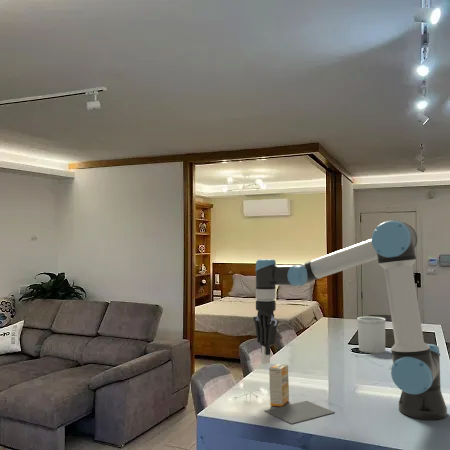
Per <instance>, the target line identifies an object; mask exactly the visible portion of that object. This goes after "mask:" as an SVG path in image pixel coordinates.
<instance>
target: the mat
mask: <svg viewBox="0 0 450 450" xmlns="http://www.w3.org/2000/svg"><path fill="white" fill-rule="evenodd" d="M264 412H266V413H267V414H269V415H271V416H274V417H275V418H278V419H279V420H282V421H283V422H286V423H288V424H289V425H294V424H298V423H302V422H306V421H310V420H313V419H318V418H321V417H324V416H329V415H333V414H335V411H333V410H331V409H328V408H326V407H324V406H321V405H318V404H316V403H314V402H311V401H308V400H304V401H300V402H299V401H298V402H296V403H295V402H294V403H291V404H285V405H283V406H277V407H274V408H269V409H265V410H264Z"/></svg>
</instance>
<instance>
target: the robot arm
mask: <svg viewBox="0 0 450 450" xmlns="http://www.w3.org/2000/svg"><path fill="white" fill-rule="evenodd" d="M371 234H372V235H371V238H369V239H367V240H365V241H361V242H359V243H356V244H353V245H351V246H348V247H345V248H342V249H339V250H335V251H334V252H331V253H329V254H325V255H322V256H320V257H317V258H314V259H312V260H309V261H306V262H303V263H299V264H298V263H297V264H277V263H276V259H273V258H269V259H268V258H265V259H263V258H262V259H257V260H256V261H255V269H254V270H255V271H254V272H255V299H256V300H255V310H256V311H257V315H256V316H253V321H254V326H255V327H254V328H255V334H256V340H257V343H258V344H260V346H261V347H260V349H261V351H260V354H261V364H263V365H266V364H271V360H270V359H271V347H272V346H274V345H275V343H276V342H275V341H276V338H277V337H276V335H277V329H278V325H279V323H280V321H279V320H278V319H277V320H276V318H275V314H274V312H275V311H276V310H277V309H276V308H277V307H276V305H277V304H276V303H277V301H275V300H276V285H277V286H278V285H279V286H293V287H301V286H302V287H303V286H305V284H309V283H312V282H313V281H316V280H318V279H321V278H324V277H327V276H330V275H331V276H332V275H333V274H337V273H339V272H342V271H345V270H348V269H351V268H354V267H358V266H360V265H364V264H366V263H369V262H370V263H371V262H373V261H376V260H377V262H378V265H379V266H380V267H382V268H383V270H384V277H385V282H386V283H385V284H386V291H387V297H388V303H389V311H390V316H391V324H392V331H393V336H394V344H393V345H392V347H390V352H391V358H392V365H391V368H390V369H391V370H390V374H391V379H392V381H393V383H394V385H395V386H396V387H397V388H398V389H399V390H401V394H400V397H399V401H398V411H399V412H400V413H402V414H403V415H405V416H408V417H411V418H415V419H421V420H429V421H431V420H433V421H435V420H442V419H445V418H447V416H448V407H447V405H446V402H445V399H444V396H443V393H442V389H441V364H440V363H441V362H440V361H441V360H440V357H441V352H440V347H439V346H438V345H436V344H432V343H426V342H425V341H424V340H425V339H424V335H423V328H422V327H423V326H422V322H421V321H422V320H421V313H420V308H419V302H418V295H417V288H416V284H415V275H414V271H413V269H414V268H413V265H414V264H415V263H416V261H417V255H416V251H415V249H416V247H417V244H418V234H417V232H416V230H415V229H414V227H413V226H412V225H410V224H408V223H406V222H402V221H399V220H395V219H394V220H386V221H384V222H381V223H380V224H378V225H377V226H376V227H375V229H374V230H373V231H372V233H371Z"/></svg>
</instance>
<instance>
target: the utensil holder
mask: <svg viewBox="0 0 450 450" xmlns="http://www.w3.org/2000/svg"><path fill="white" fill-rule="evenodd" d="M356 319H357V332H358V333H357V335H358V336H357V337H358V338H357V339H358V350H359V352H362V353H366V354H367V353H368V354H382V353H385V352H386V318H385V317H381V316H368V315H367V316H359V317H357V318H356Z"/></svg>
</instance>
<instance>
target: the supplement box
mask: <svg viewBox="0 0 450 450" xmlns="http://www.w3.org/2000/svg"><path fill="white" fill-rule="evenodd" d="M268 369H269V371H268V372H269V373H268V374H269V403H270V406H274V407H282V406H285V405H286V403H288V402H289V401H290V387H289V384H290V381H289V364H288V363H285V364H284V363H276V364H273V365H272V366H271V367H269V368H268Z"/></svg>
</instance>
